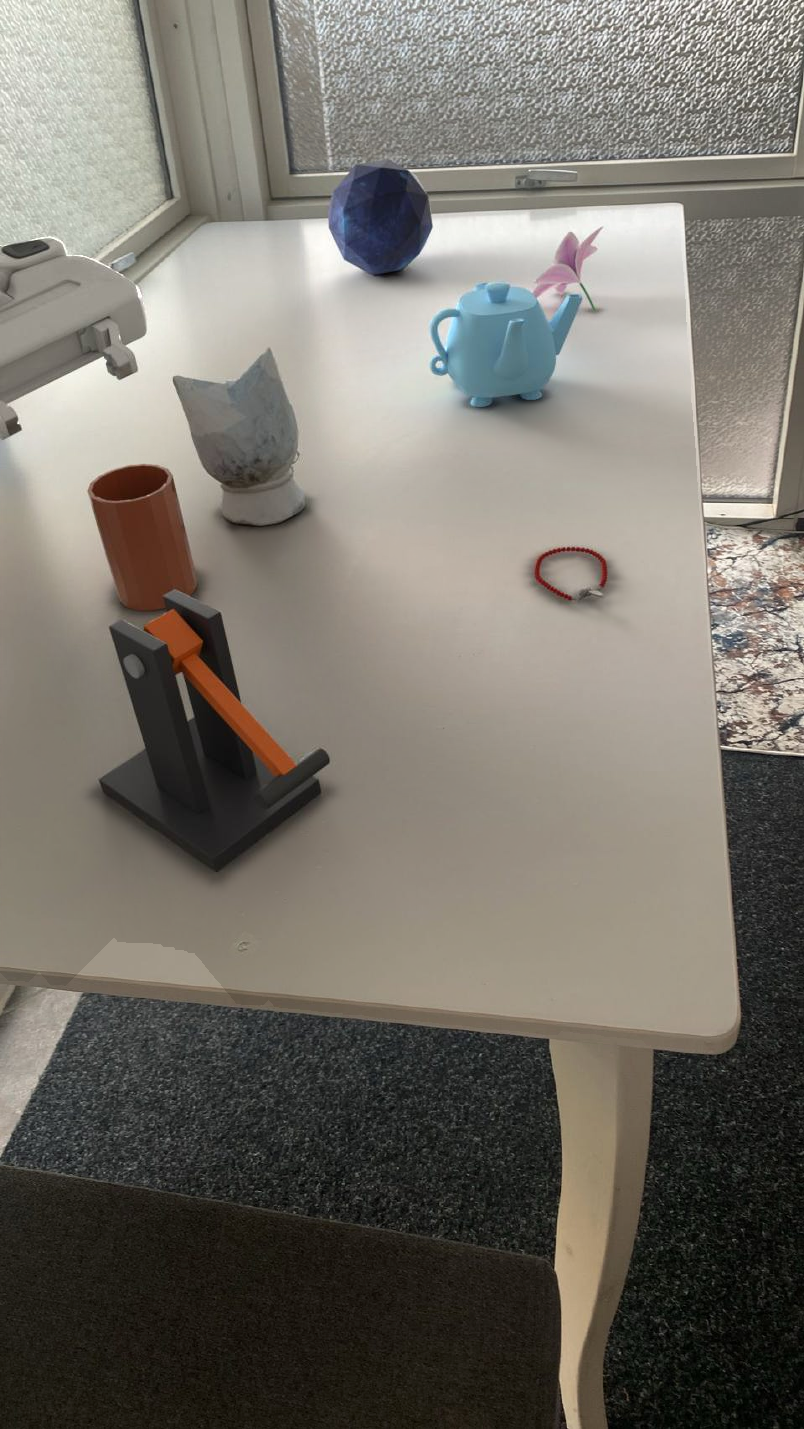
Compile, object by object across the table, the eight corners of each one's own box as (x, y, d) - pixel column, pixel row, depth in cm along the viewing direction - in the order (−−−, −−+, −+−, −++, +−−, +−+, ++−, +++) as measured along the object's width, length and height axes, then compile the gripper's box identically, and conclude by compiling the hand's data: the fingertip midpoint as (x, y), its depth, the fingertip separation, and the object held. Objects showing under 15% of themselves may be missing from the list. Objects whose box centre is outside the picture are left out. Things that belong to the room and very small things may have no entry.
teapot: (596, 380, 122) (598, 274, 115) (522, 426, 114) (519, 316, 107) (485, 356, 130) (481, 256, 123) (409, 398, 123) (400, 293, 116)
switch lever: (325, 771, 67) (335, 753, 65) (263, 817, 64) (271, 800, 62) (186, 619, 69) (191, 597, 67) (120, 657, 66) (124, 636, 64)
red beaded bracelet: (620, 602, 87) (621, 591, 86) (544, 610, 87) (543, 600, 86) (599, 547, 94) (599, 537, 93) (527, 555, 94) (527, 544, 93)
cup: (150, 619, 92) (120, 510, 85) (103, 594, 95) (71, 488, 89) (213, 583, 95) (188, 476, 89) (165, 561, 99) (138, 457, 93)
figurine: (313, 480, 109) (290, 328, 100) (304, 526, 102) (278, 366, 92) (214, 487, 110) (182, 336, 100) (198, 533, 102) (162, 375, 93)
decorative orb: (457, 238, 150) (428, 129, 150) (350, 258, 147) (320, 147, 147) (433, 281, 164) (406, 181, 164) (335, 300, 161) (308, 199, 161)
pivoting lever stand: (321, 792, 73) (289, 616, 64) (216, 872, 68) (166, 693, 60) (205, 724, 80) (162, 556, 71) (102, 792, 75) (43, 621, 66)
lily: (611, 294, 146) (579, 225, 143) (646, 282, 135) (612, 206, 132) (533, 341, 146) (499, 272, 143) (562, 332, 134) (526, 257, 132)
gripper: (-186, 337, 75) (-86, 424, 69) (71, 227, 84) (181, 295, 77) (-148, 416, 80) (-51, 504, 73) (91, 304, 89) (197, 374, 82)
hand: (70, 396), depth 75 cm, fingers open, 8 cm apart
